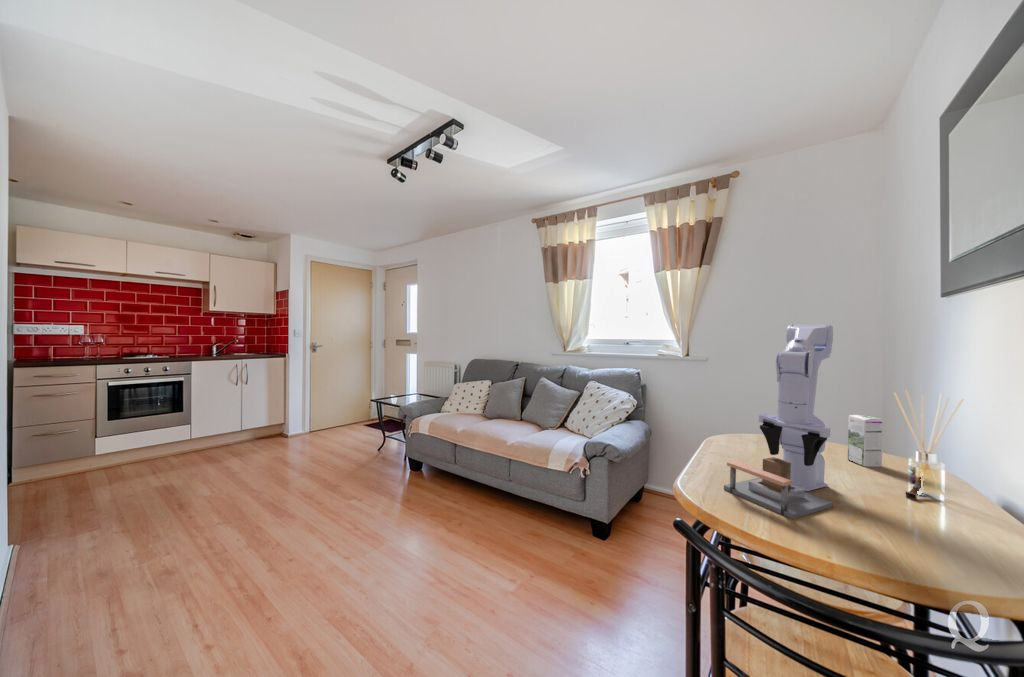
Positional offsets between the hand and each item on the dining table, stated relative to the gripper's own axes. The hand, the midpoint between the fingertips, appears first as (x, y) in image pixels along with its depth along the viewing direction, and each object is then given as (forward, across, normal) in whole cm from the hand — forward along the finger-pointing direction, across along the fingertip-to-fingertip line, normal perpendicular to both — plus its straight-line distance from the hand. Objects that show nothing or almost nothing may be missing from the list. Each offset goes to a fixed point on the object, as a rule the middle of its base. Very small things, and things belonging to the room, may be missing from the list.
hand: (790, 459), depth 88 cm
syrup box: (+10, -8, +49) cm, 51 cm away
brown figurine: (+10, +9, +33) cm, 36 cm away
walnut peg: (+9, -2, -1) cm, 9 cm away
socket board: (+10, -2, -1) cm, 10 cm away
